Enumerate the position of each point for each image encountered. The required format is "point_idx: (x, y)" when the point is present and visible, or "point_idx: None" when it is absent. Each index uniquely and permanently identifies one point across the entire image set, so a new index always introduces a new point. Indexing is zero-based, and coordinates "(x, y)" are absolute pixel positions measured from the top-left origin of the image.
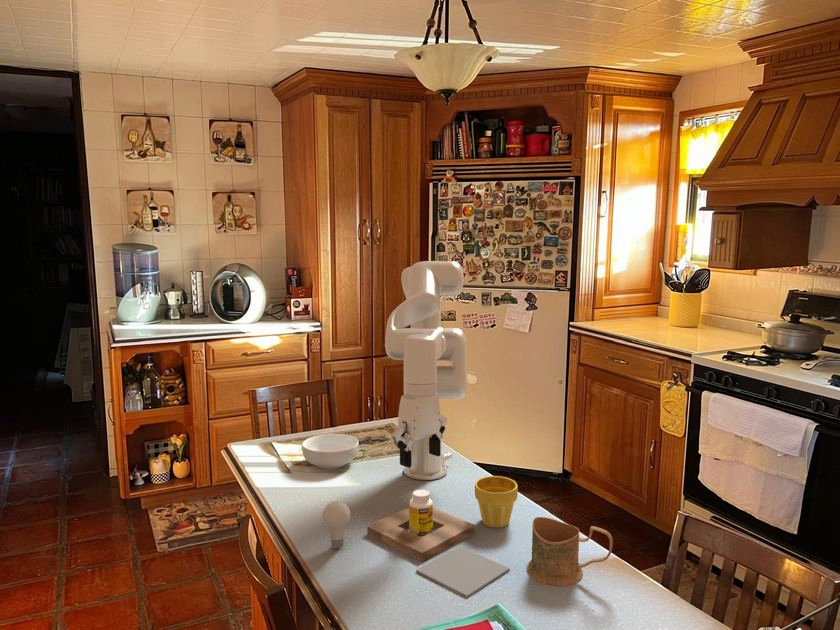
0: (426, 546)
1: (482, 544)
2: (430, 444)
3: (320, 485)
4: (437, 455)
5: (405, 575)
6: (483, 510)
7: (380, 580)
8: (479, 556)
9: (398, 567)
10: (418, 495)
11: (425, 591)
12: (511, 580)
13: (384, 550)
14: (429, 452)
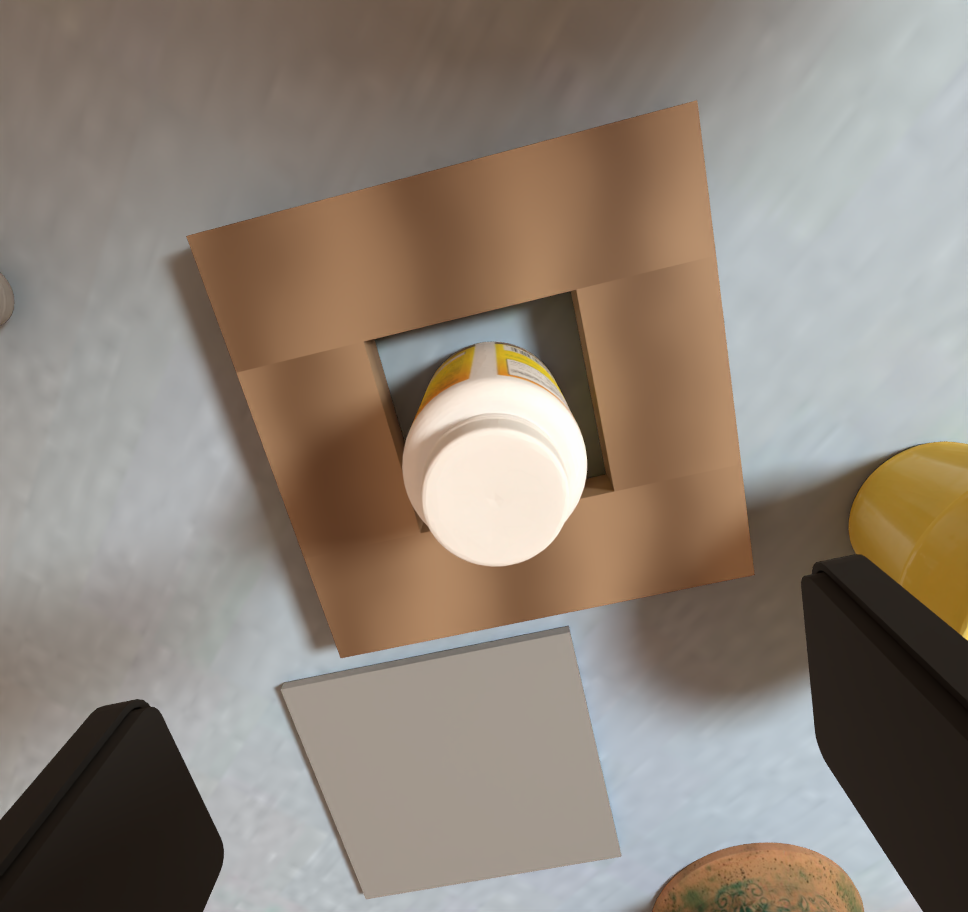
0: (390, 621)
1: (682, 654)
2: (914, 731)
3: None
4: (821, 747)
5: (230, 680)
6: (882, 563)
7: (116, 658)
8: (583, 743)
9: (229, 616)
10: (444, 534)
11: (252, 797)
12: (577, 889)
13: (231, 454)
14: (811, 586)
